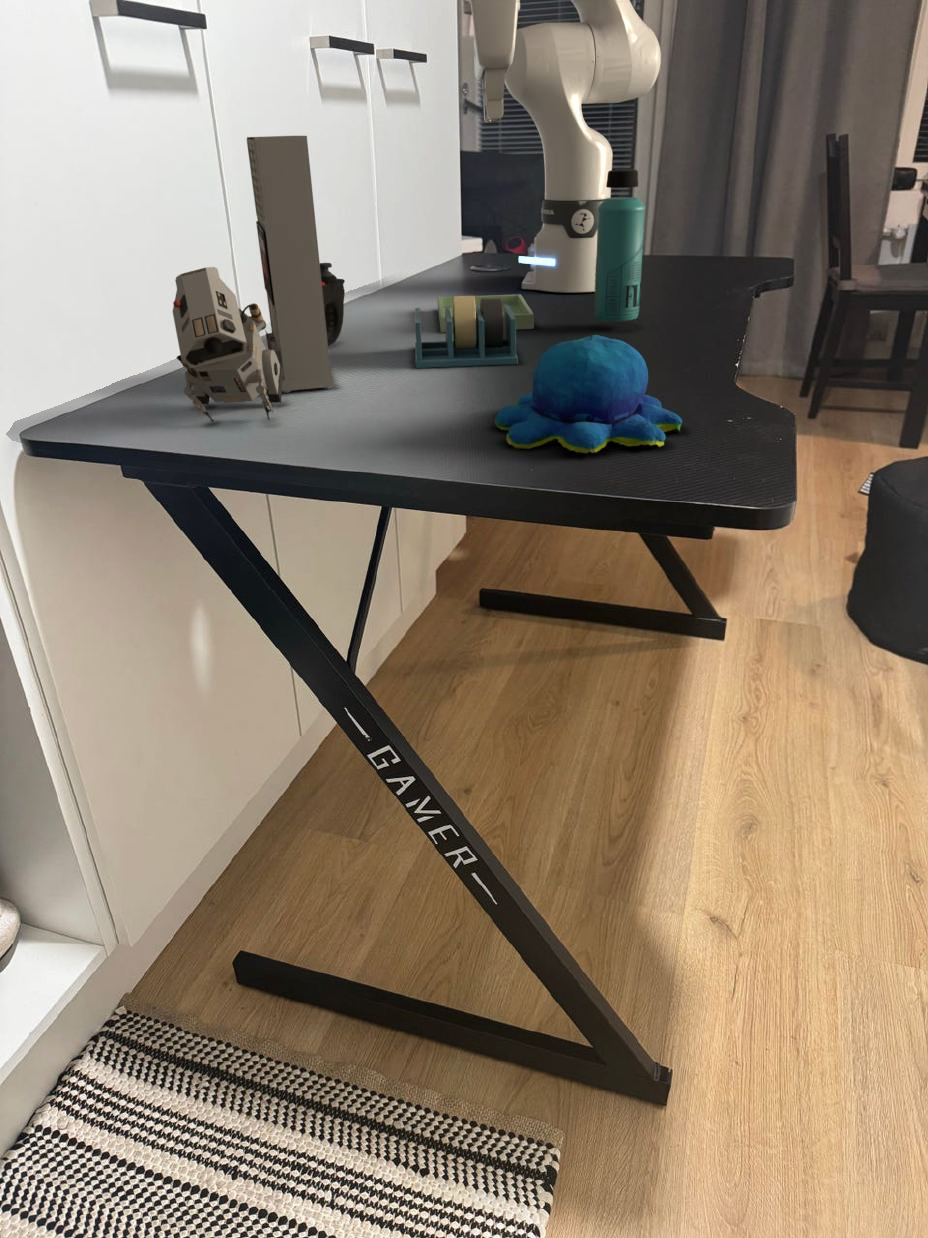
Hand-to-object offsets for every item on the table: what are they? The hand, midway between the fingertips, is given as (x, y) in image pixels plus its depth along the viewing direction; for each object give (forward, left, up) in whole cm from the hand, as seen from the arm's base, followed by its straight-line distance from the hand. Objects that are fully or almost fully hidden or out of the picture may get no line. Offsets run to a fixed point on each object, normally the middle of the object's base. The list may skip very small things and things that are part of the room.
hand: (493, 120), depth 102 cm
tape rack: (+3, -4, -26) cm, 26 cm away
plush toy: (+35, +6, -26) cm, 44 cm away
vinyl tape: (+3, -1, -22) cm, 22 cm away
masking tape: (+3, -4, -22) cm, 22 cm away
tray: (-21, 0, -26) cm, 33 cm away
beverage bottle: (-11, +18, -26) cm, 33 cm away
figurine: (+23, -29, -26) cm, 45 cm away
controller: (-6, -23, -26) cm, 35 cm away
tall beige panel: (+11, -24, -26) cm, 37 cm away
